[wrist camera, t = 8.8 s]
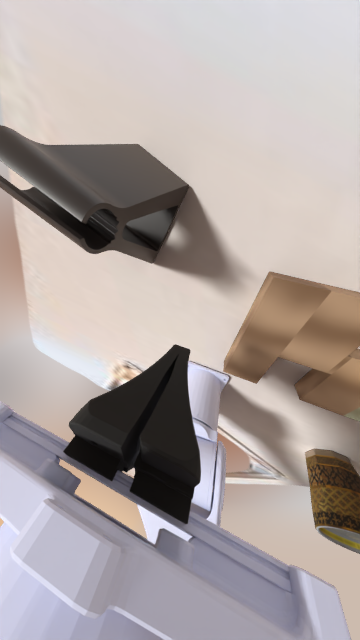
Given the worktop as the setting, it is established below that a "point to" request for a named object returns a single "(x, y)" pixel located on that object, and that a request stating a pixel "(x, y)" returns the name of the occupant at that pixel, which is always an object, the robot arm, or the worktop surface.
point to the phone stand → (96, 192)
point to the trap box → (304, 340)
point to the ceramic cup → (335, 497)
